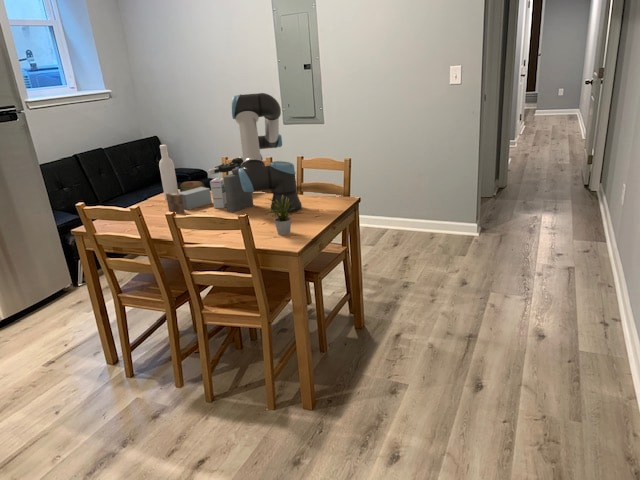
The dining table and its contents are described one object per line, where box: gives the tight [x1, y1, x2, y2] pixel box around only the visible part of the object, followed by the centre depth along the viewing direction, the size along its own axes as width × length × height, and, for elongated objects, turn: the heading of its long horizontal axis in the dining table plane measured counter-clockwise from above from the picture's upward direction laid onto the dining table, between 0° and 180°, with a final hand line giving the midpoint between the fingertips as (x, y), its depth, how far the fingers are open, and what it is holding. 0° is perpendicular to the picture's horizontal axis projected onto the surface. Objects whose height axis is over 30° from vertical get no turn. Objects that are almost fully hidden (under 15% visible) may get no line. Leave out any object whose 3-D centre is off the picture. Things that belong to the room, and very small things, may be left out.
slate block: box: [177, 187, 213, 210], centre depth 265 cm, size 8×15×8 cm, turn 136°
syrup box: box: [209, 177, 227, 209], centre depth 257 cm, size 6×6×14 cm
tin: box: [179, 180, 206, 192], centre depth 286 cm, size 15×3×8 cm, turn 76°
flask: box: [222, 169, 254, 213], centre depth 251 cm, size 15×6×20 cm, turn 135°
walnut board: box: [166, 193, 185, 214], centre depth 256 cm, size 10×2×9 cm, turn 53°
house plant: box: [265, 195, 296, 236], centre depth 210 cm, size 14×14×16 cm
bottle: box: [158, 144, 180, 201], centre depth 280 cm, size 8×8×30 cm
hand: (209, 172), depth 271 cm, fingers closed
